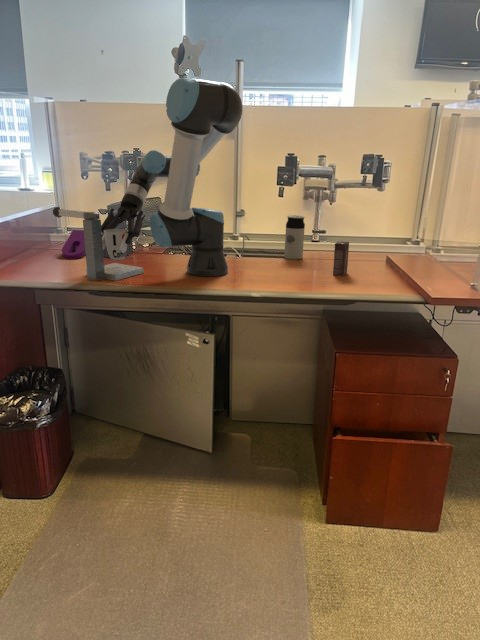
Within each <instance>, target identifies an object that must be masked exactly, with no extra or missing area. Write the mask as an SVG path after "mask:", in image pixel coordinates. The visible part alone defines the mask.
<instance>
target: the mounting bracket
mask: <svg viewBox="0 0 480 640" xmlns="http://www.w3.org/2000/svg"><path fill="white" fill-rule="evenodd" d="M61 252H62V256H63V257H64V258H65V259H67V258H69V259H68V260H76V259H75V258H78V259H80V258H82V257H84V256H86V252H85V240H84V229H72V230H71V233H70V235H69V236H68V238H67V239H66V241H65V243H64V244H63V247H62V248H61Z"/></svg>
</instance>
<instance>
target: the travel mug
mask: <svg viewBox="0 0 480 640" xmlns="http://www.w3.org/2000/svg"><path fill="white" fill-rule="evenodd" d="M286 217H287V221H286V224H285V235H284V236H285V237H284V238H285V239H284V255H283V257H284V258H285V259H287V260H294V261H295V260H301V259H303V253H304V243H305V227H306V224H305V221H304V220H305V217H306V216H304V215H300V214H299V215H297V214H292V215H291V214H290V215H287V216H286Z"/></svg>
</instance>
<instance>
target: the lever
mask: <svg viewBox="0 0 480 640" xmlns="http://www.w3.org/2000/svg"><path fill="white" fill-rule="evenodd" d="M52 215H53V216H54V217H55V218H62V217H65V218H66V217H67V218H76V219H83V220H97V219H98V220H101V218H100V212H98V211H82V210H73V209H65V208H64V209H63V208H62V207H60V206H55V207H54V208H53V209H52Z"/></svg>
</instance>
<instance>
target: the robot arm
mask: <svg viewBox="0 0 480 640" xmlns="http://www.w3.org/2000/svg"><path fill="white" fill-rule="evenodd" d="M165 100H166V101H165V102H166V103H165V107H166V110H165V111H166V115H167V117H168V119H169V120H170V121H171V123H170V125H171V127H172V128H173V130H174V137H173V144H172V150H171V155H164V153H163V152H160V151H158V150H157V149H153V150H152V149H151V150H149V151H148V152H147V153H146V154H145V156H143V158H142V160H141V162H140V163H139V164H138V165H137V167H136V169H135V170H134V174H133V175H132V178H131V180H130V182H129V184H128V186H127V189H126V190H125V192H124V195H123V197H122V199H121V201H120V206H119V208H118V209H114V208H111V209H110V211H109V214H108V215H107V217H106V218H105V219H104V221H103V223H101V230H102V244H103V252H104V250H105V249H106V243H105V237H104V230H108V229H117V227H118V226H119V225H120V224H122V223H123V222H127V234H125V236H124V238H123V241H122V243H121V245H120V247H119V249H120V251H121V252H122V253H125V250H126V248H128V245H131V242H132V240H133V238H135V237H136V238H138V237H140V234H141V229H142V224H143V221H144V219H145V217H146V215H145V213H144V212H143V210H142V209H143V208H142V207H143V206H144V203H145V201H146V198H147V197H148V194H149V192H150V190H151V188H152V186H153V184H154V183H155V181H156V180H157V179H158V178H167V183H166V188H165V189H166V191H165V195H164V201H163V202H162V203H160V204H159V205H158V211H157V212H154V213H152V214H151V215H150V219H149V226H150V227H149V228H150V233H151V235H152V236H151V237H152V238H153V241H154V242H155V244H156V245H157V246H158V247H160V248H169V249H171V248H177V247H187V246H188V247H189V246H191V252H190V256H189V260H188V263H187V265H186V272H187V274H189V275H191V276H196V277H219V276H224V275H226V274H228V272H229V266H228V263H227V260H226V256H225V253H224V237H225V235H224V232H225V230H224V227H225V219H224V214H223V212H222V211H220V210H217V209H211V208H210V209H209V208H202V207H191V205H192V204H191V203H192V199H193V194H194V193H193V192H194V188H195V182H196V178H197V176H198V175H199V173H200V171H201V162H202V161H203V160H204V159H205V158H206V157H207V156H208V154H209V153H210V152H211V151H212V150H213V149H214V147H215V146H216V145H217V144H218V143H219V142H220V141H221V140H222V138H224V136H225V135H229V134H231V133H232V132H233V131H234V130H235V128H237V126H238V125H239V123H240V121H241V118H242V115H243V102H242V101H243V100H242V98H241V96H240V94H239V92H238V91H237V89H236V88H234V87H233V86H232V85H230V84H229V83H226V82H223V81H213V80H206V79H200V78H199V79H198V78H194V77H189V78H187V77H179V78H178V79H176V80H174V82H172V84H171V85H170V87H169V89H168V93H167V96H166V99H165ZM135 218H136V219H135ZM126 251H127V250H126Z"/></svg>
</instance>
